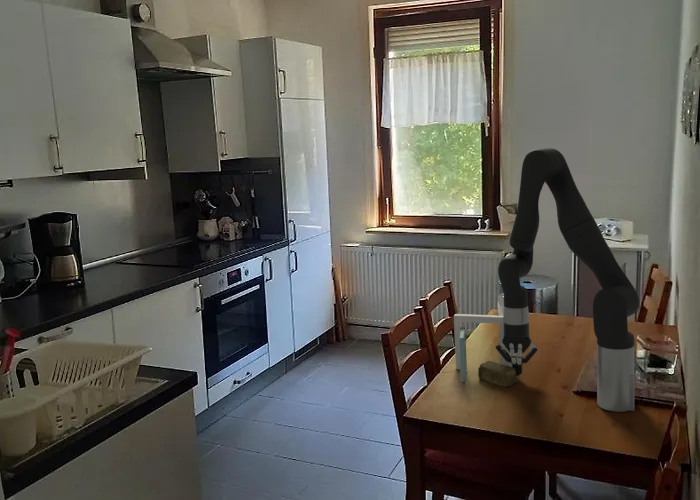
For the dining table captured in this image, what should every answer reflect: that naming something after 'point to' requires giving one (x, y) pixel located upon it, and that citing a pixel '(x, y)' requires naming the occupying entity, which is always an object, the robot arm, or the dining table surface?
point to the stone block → (497, 373)
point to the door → (463, 354)
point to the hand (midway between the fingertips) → (517, 375)
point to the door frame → (477, 319)
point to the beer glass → (500, 304)
